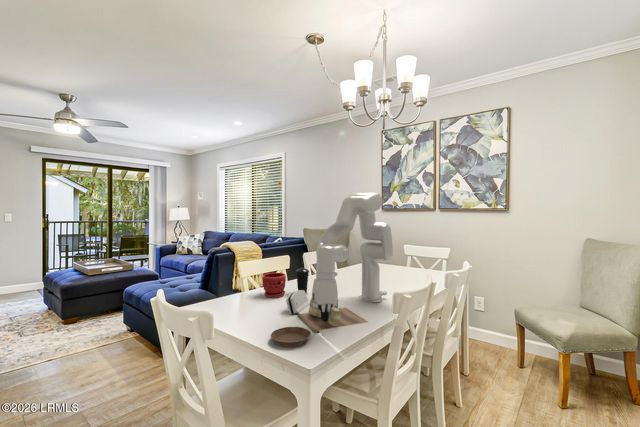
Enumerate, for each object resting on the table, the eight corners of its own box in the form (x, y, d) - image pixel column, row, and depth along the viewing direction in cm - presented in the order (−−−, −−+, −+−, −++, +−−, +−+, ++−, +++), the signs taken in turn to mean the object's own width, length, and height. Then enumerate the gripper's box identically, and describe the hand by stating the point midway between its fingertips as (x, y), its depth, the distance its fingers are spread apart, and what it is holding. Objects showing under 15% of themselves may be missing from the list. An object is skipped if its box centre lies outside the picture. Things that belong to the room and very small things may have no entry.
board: (345, 309, 151) (345, 307, 151) (368, 324, 131) (368, 321, 131) (297, 316, 141) (297, 314, 141) (315, 333, 122) (315, 330, 122)
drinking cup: (299, 296, 173) (299, 260, 173) (293, 293, 180) (293, 258, 180) (311, 294, 177) (311, 259, 177) (305, 291, 184) (305, 258, 183)
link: (305, 310, 142) (307, 297, 142) (322, 310, 146) (324, 297, 146) (326, 326, 124) (328, 311, 124) (345, 325, 128) (347, 311, 128)
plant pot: (273, 291, 184) (273, 271, 184) (290, 295, 176) (290, 274, 176) (257, 296, 173) (257, 275, 173) (274, 300, 166) (274, 278, 166)
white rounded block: (299, 315, 142) (292, 294, 143) (290, 317, 143) (283, 297, 144) (312, 305, 158) (306, 286, 159) (304, 307, 159) (298, 288, 160)
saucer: (263, 339, 116) (263, 332, 116) (296, 330, 125) (296, 323, 125) (284, 353, 105) (284, 345, 105) (318, 342, 114) (318, 335, 114)
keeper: (335, 316, 141) (335, 297, 141) (340, 319, 137) (340, 300, 137) (325, 317, 139) (325, 299, 139) (329, 321, 135) (329, 301, 135)
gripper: (337, 273, 134) (336, 316, 133) (305, 275, 128) (304, 319, 128) (345, 276, 127) (345, 321, 127) (311, 278, 121) (311, 325, 121)
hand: (324, 320), depth 127 cm, fingers closed
